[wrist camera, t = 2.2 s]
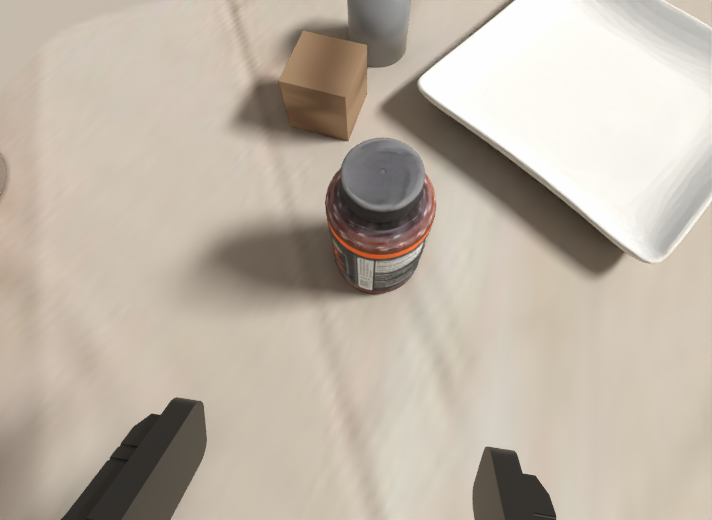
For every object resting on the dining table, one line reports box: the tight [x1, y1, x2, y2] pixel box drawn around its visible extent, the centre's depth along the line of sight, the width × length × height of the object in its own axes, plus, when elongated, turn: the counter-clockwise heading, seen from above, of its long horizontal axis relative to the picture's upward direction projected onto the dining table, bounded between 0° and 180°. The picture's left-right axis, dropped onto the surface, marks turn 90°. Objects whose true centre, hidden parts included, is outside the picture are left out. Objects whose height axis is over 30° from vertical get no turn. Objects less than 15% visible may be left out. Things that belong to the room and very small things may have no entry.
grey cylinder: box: [348, 0, 411, 67], centre depth 34 cm, size 5×5×6 cm
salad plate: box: [417, 0, 712, 264], centre depth 33 cm, size 21×21×3 cm
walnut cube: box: [279, 31, 367, 141], centre depth 32 cm, size 5×5×5 cm
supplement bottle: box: [325, 138, 436, 293], centre depth 25 cm, size 6×6×11 cm
